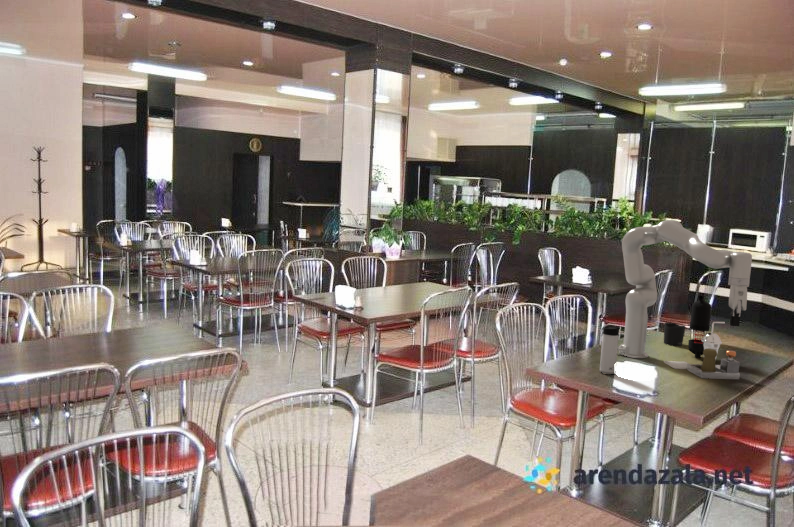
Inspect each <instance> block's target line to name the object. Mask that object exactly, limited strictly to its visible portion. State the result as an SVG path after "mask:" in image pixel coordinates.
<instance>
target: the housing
mask: <svg viewBox="0 0 794 527" xmlns="http://www.w3.org/2000/svg"><path fill="white" fill-rule="evenodd" d="M701 367H702V364H699V363H698V364H696V363H695V364H693V363H691V364H690V363H689V364H687V369H686V370H687V372H688V371H689V372H690V373H692V374H694V375H695V376H697V377H699V378H700V379H708V378H709V379H712V380H717V379H718V380H740V379H741V378H740V375H741V373H740V372H739V370H740V361H737V360H736V359H734V358H733V360H732V361H728V358H720V363H719V364H715V367H716V372H704V371H702V370H701ZM709 379H708V380H709Z"/></svg>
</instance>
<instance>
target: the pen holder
mask: <svg viewBox="0 0 794 527" xmlns="http://www.w3.org/2000/svg"><path fill="white" fill-rule="evenodd" d="M663 328H664V331H663V343H664V344H666V345H667V344H668V345H667V346H672V345H673V346H675V347H681V346H682V345H683V343H684V342H683V341H684V337H685V336H684V335H685V334H684V333H685V328H686V326H685V325H679V324H677V323H674V322H665V323H664V327H663ZM673 346H672V347H673Z"/></svg>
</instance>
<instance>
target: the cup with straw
mask: <svg viewBox="0 0 794 527" xmlns="http://www.w3.org/2000/svg"><path fill="white" fill-rule="evenodd" d="M715 324H726V321H713V322H712V323H711V330H710V332H707V333H706V334H705V335H704V336H702V338H701V339H700V340H701V341H702V342H703V350H704V349H714V350H716V352H717V354H718V352H719V348H720V347H721V345H722V344H723V341H722V340H721V337H720V336H719V335H718V333H714V327H715ZM717 356H718V355H717ZM717 356H716V357H715V362H716V361H717Z"/></svg>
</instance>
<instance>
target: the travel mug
mask: <svg viewBox="0 0 794 527" xmlns="http://www.w3.org/2000/svg"><path fill="white" fill-rule="evenodd" d="M619 330H621V327H620V326H612V325H611V326H604V327H603V328H602V336H601V347H600V348H601V352H600V363H599V373H600V372H602V373H606V374H614V364H615V363H616V364H617V358H618V357H617V356H618V350H617V348H618V346H619V335H620V334H619V332H620V331H619ZM602 373H601V374H602ZM614 375H615V374H614Z"/></svg>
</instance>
